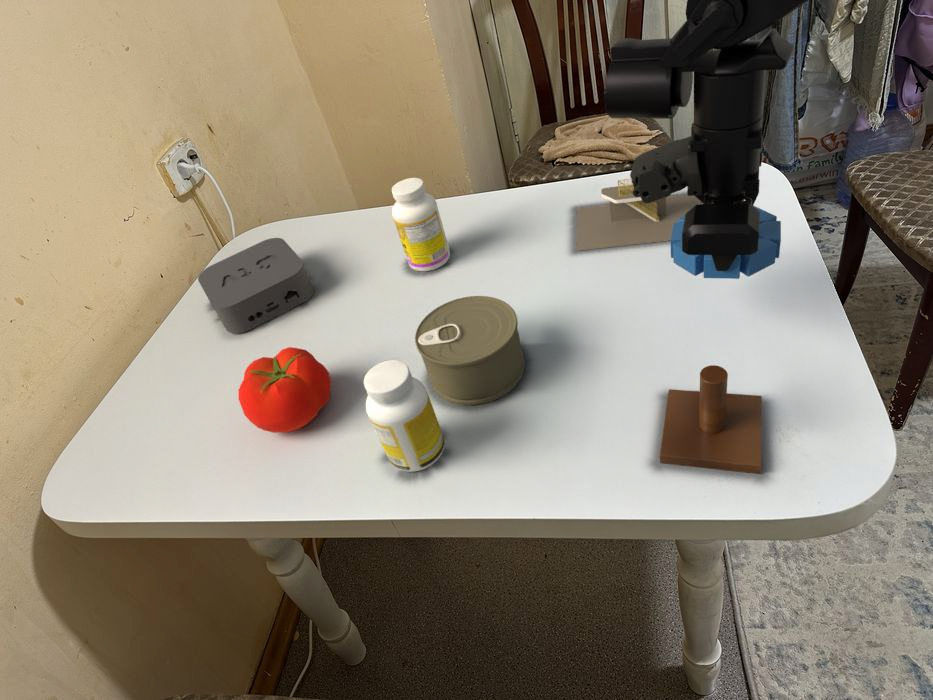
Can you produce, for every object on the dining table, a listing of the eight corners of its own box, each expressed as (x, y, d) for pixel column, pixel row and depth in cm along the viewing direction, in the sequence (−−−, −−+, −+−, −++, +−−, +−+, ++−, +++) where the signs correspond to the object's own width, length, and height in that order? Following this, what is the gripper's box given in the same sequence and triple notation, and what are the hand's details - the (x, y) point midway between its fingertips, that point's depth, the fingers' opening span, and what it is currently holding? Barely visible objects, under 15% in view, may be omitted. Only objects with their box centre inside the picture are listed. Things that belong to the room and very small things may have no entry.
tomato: (247, 451, 78) (218, 408, 73) (266, 387, 86) (242, 344, 82) (332, 436, 77) (309, 391, 72) (344, 373, 85) (323, 329, 80)
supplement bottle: (412, 251, 104) (389, 177, 96) (453, 245, 103) (433, 170, 95) (405, 276, 99) (380, 200, 91) (448, 270, 98) (426, 193, 90)
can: (536, 391, 75) (527, 346, 71) (434, 417, 76) (419, 374, 71) (515, 328, 84) (506, 285, 80) (425, 352, 85) (411, 310, 80)
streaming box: (290, 259, 111) (278, 233, 107) (320, 295, 100) (308, 267, 97) (209, 299, 107) (194, 273, 103) (232, 340, 96) (216, 313, 93)
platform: (709, 236, 90) (710, 193, 86) (577, 250, 94) (571, 210, 90) (697, 192, 99) (698, 152, 95) (576, 208, 103) (572, 169, 99)
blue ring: (778, 221, 73) (780, 202, 72) (778, 279, 66) (780, 259, 65) (677, 223, 77) (677, 205, 76) (666, 278, 70) (666, 259, 69)
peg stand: (760, 403, 67) (767, 343, 62) (760, 474, 61) (767, 414, 56) (668, 396, 70) (667, 339, 65) (660, 463, 64) (657, 405, 59)
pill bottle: (453, 431, 73) (427, 354, 66) (435, 477, 69) (405, 401, 62) (400, 426, 76) (369, 352, 68) (380, 471, 71) (344, 397, 64)
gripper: (648, 83, 68) (653, 215, 77) (618, 172, 55) (629, 317, 65) (767, 71, 63) (757, 213, 73) (764, 165, 51) (752, 321, 61)
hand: (722, 262), depth 68 cm, fingers closed on blue ring, 2 cm apart
